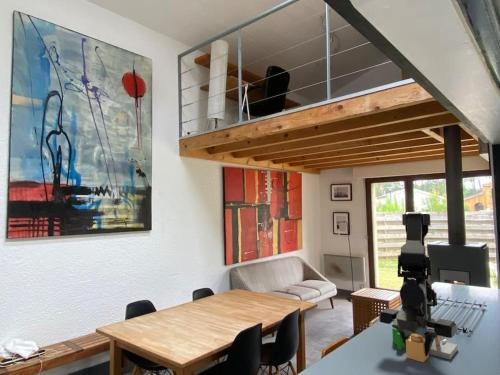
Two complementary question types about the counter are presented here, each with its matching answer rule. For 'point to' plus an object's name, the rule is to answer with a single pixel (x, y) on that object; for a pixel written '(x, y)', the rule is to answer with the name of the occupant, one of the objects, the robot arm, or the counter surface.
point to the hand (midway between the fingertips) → (417, 353)
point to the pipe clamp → (399, 338)
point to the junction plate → (443, 348)
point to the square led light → (416, 347)
